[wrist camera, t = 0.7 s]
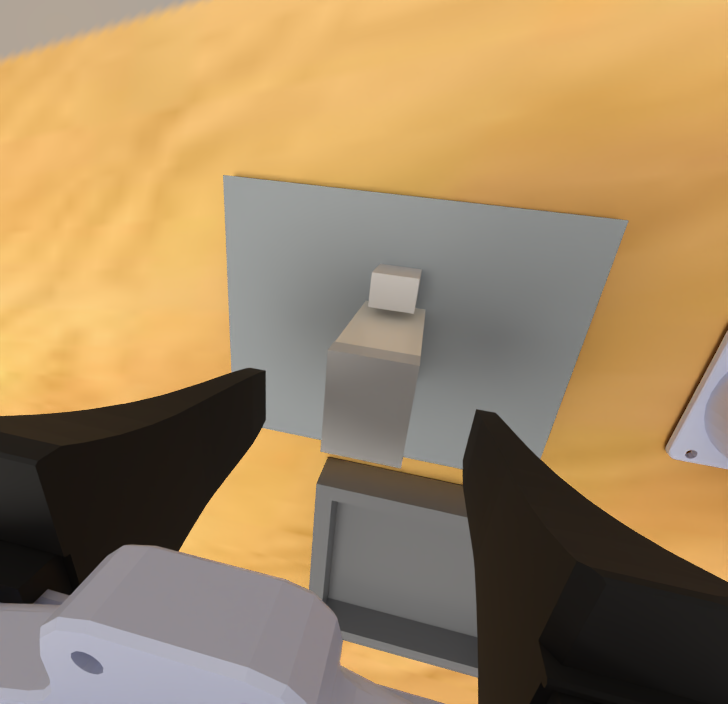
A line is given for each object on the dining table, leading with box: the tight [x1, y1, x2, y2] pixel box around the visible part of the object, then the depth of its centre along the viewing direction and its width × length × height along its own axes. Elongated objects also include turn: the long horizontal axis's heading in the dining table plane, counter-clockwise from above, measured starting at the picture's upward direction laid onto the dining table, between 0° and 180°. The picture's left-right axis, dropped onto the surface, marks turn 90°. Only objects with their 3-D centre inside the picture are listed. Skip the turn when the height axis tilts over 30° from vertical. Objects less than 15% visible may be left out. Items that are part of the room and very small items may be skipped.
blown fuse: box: [320, 301, 425, 468], centre depth 16 cm, size 3×4×7 cm
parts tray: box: [309, 457, 478, 677], centre depth 24 cm, size 14×14×2 cm
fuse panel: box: [223, 175, 628, 469], centre depth 18 cm, size 18×14×4 cm
